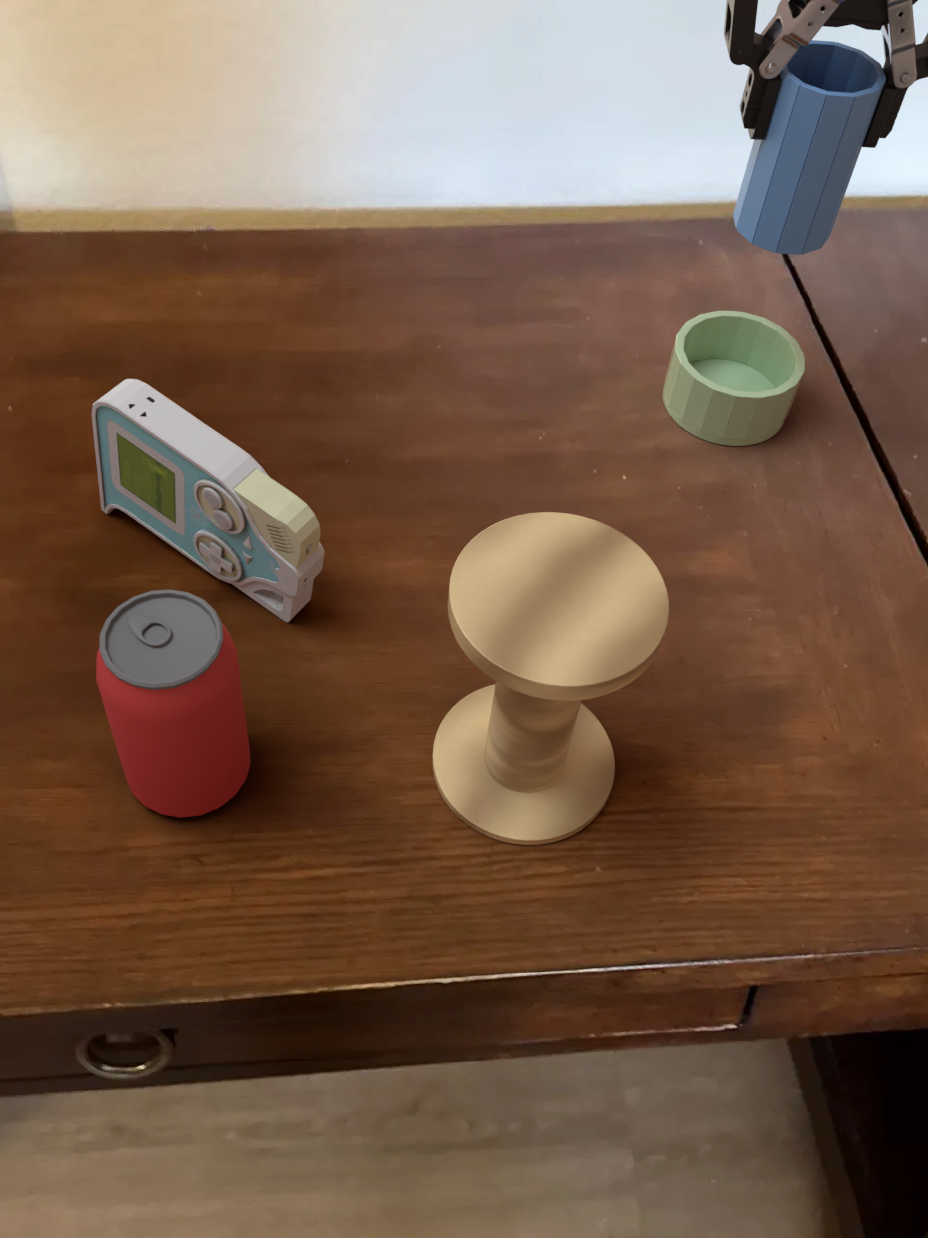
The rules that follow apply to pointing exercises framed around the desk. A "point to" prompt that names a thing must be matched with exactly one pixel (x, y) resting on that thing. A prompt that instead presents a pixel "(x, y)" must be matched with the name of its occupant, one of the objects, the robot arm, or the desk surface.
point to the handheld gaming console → (205, 497)
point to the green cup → (732, 377)
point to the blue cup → (808, 148)
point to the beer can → (174, 702)
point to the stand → (543, 671)
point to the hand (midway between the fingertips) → (810, 134)
